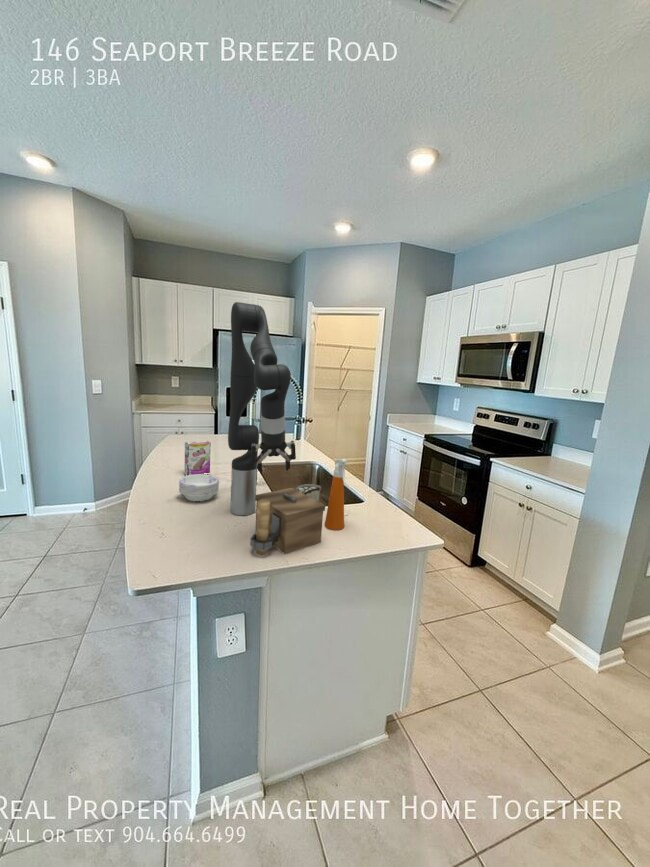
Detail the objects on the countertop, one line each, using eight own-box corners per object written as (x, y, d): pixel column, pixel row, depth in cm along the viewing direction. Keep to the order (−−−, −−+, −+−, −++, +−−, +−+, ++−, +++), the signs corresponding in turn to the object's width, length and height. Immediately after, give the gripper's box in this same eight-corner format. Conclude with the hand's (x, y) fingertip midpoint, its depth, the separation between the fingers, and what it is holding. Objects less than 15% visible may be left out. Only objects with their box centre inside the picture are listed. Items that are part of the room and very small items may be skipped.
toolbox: (253, 530, 120) (255, 491, 118) (290, 520, 130) (292, 484, 127) (284, 555, 106) (286, 511, 104) (322, 542, 116) (325, 501, 113)
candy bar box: (187, 477, 168) (187, 444, 165) (184, 474, 172) (184, 441, 169) (210, 474, 175) (211, 442, 172) (206, 471, 179) (207, 440, 176)
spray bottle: (330, 536, 120) (336, 461, 115) (322, 522, 130) (327, 452, 126) (350, 534, 122) (356, 461, 117) (340, 521, 132) (346, 453, 128)
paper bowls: (226, 496, 149) (226, 478, 147) (198, 507, 135) (198, 488, 134) (200, 488, 155) (200, 471, 154) (170, 498, 142) (170, 479, 141)
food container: (308, 504, 146) (309, 481, 144) (319, 509, 142) (321, 485, 140) (287, 513, 136) (288, 488, 134) (298, 518, 133) (300, 492, 131)
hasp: (247, 542, 107) (247, 517, 106) (271, 535, 112) (272, 511, 111) (257, 551, 102) (258, 526, 101) (282, 544, 108) (283, 519, 106)
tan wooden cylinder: (253, 550, 107) (255, 501, 104) (264, 547, 110) (266, 498, 107) (259, 556, 105) (261, 505, 102) (270, 552, 107) (272, 502, 104)
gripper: (294, 420, 115) (293, 462, 123) (249, 422, 112) (251, 465, 120) (297, 432, 109) (296, 475, 116) (250, 434, 106) (252, 478, 113)
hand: (273, 470), depth 118 cm, fingers open, 8 cm apart
